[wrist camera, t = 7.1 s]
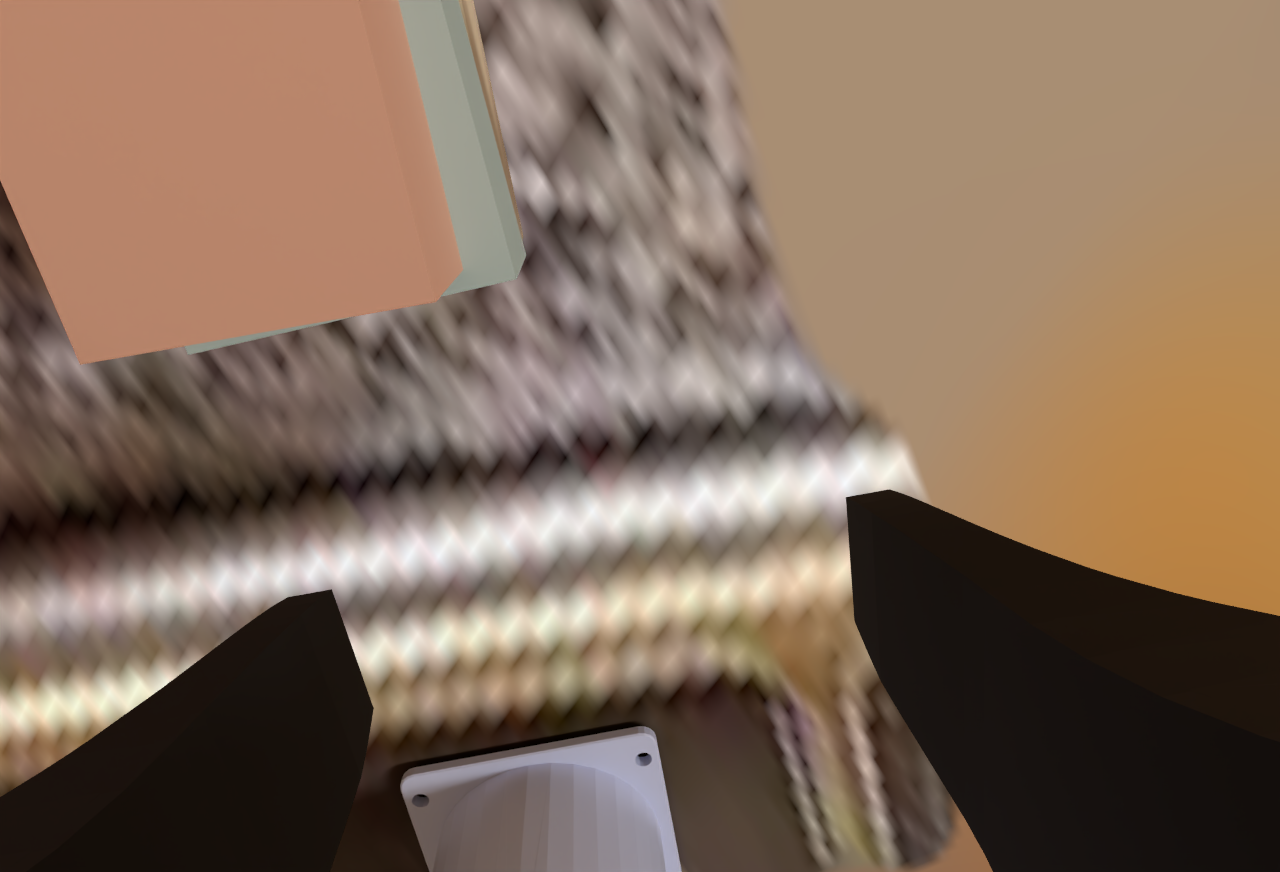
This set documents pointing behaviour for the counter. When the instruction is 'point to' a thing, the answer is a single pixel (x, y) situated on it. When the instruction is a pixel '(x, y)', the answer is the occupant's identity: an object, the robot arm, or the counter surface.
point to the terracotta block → (219, 166)
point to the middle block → (454, 153)
